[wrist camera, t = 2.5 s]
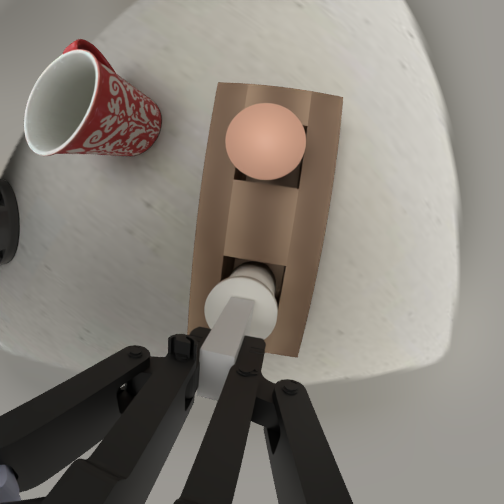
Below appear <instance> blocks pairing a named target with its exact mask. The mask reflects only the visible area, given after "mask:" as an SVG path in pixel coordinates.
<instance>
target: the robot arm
mask: <svg viewBox="0 0 504 504" xmlns="http://www.w3.org/2000/svg"><path fill="white" fill-rule="evenodd" d="M18 236H19V217H18V209H17V203H16V199H15V196H14V193H13V191H12V188H11V187H10V185H9V184H8V182H7V181H5V180H4V179H0V265H2V264H5V263H8V262H9V261H11V259H12V258H13V256H14V254H15V252H16V248H17V244H18ZM254 302H255V301H252V300H246V299H241V298H236V297H231V298H230V299H229V301H228V303H227V304H226V306H225V308H224V309H223V311H222V313H221V315H220V316H219V318H218V320H217V321H216V323H215V325H214V326H213V328H212V329H209V328H204V327H200V326H199V327H197V328H195V329H193V330H192V331H191V332H190V334H189V335H185V334H176V335H172V336H170V337H169V338H168V354H167V356H166V357H152V356H150V352H149V350H147V349H146V348H145V347H142V346H136V345H134V346H128V347H126V348H124V349H122V350H120V351H118V352H117V353H115V354H113V355H111V356H110V357H108V358H106V359H104V360H103V361H101V362H99V363H97V364H95V365H94V366H92V367H90V368H88V369H86V370H85V371H83V372H81V373H79V374H77V375H76V376H74V377H72V378H71V379H68V380H67V381H65V382H63V383H61V384H59V385H57V386H56V387H54V388H52V389H50V390H48V391H47V392H45V393H43V394H41V395H39V396H37V397H35V398H33V399H32V400H30V401H28V402H26V403H24V404H22V405H21V406H19V407H17V408H15V409H13V410H11V411H9V412H7V413H5V414H3V415H2V416H0V504H145V502H146V500H147V498H148V495H149V494H150V492H151V490H152V488H153V486H154V484H155V482H156V479H157V478H158V476H159V473H160V471H161V469H162V467H163V465H164V463H165V461H166V459H167V457H168V455H169V453H170V451H171V449H172V447H173V445H174V443H175V441H176V439H177V436H178V434H179V432H180V430H181V428H182V426H183V424H184V422H185V420H186V418H187V416H188V414H189V411H190V409H191V407H192V405H193V403H194V395H195V392H196V390H197V396H201V397H205V398H209V399H213V400H217V401H218V402H217V405H216V407H215V410H214V413H213V415H212V418H211V420H210V424H209V426H208V428H207V431H206V433H205V436H204V439H203V441H202V444H201V446H200V449H199V452H198V454H197V456H196V459H195V462H194V464H193V466H192V469H191V471H190V474H189V476H188V479H187V481H186V484H185V487H184V489H183V492H182V494H181V496H180V498H179V499H177V500H176V501H175V502H174V504H232V501H233V496H234V492H235V488H236V484H237V480H238V476H239V472H240V467H241V463H242V459H243V454H244V450H245V445H246V441H247V436H248V432H249V427H250V422H251V421H252V422H255V423H257V424H259V425H262V426H264V434H265V439H266V444H267V449H268V454H269V459H270V464H271V469H272V474H273V479H274V484H275V489H276V493H277V498H278V503H279V504H353V502H352V500H351V497H350V495H349V492H348V490H347V488H346V485H345V483H344V480H343V478H342V476H341V473H340V471H339V468H338V466H337V464H336V461H335V459H334V456H333V454H332V451H331V449H330V447H329V444H328V442H327V440H326V437H325V435H324V432H323V430H322V427H321V425H320V422H319V420H318V418H317V415H316V413H315V410H314V408H313V406H312V403H311V401H310V398H309V396H308V393H307V391H306V389H305V387H304V386H303V385H302V384H301V383H299V382H297V381H294V380H288V379H286V380H281V381H278V382H277V383H276V384H275V383H272V382H270V381H268V380H267V379H265V378H264V377H263V376H262V373H261V368H262V363H263V358H264V352H265V347H266V343H265V341H264V339H262V338H257V337H251V336H249V333H250V327H251V321H252V314H253V308H254ZM123 384H125V386H123V387H121V386H122V385H123ZM120 387H121V388H120ZM102 439H103V440H102ZM101 440H102V442H101V443H100V444H99V446H98V447H97V448H96V449H95V451H94V452H93V453H92V455H91V456H90V457H89V458H88V459H86V460H84V459H77V458H78V457H80V456H81V455H82V454H84V453H85V452H86V451H88V450H89V449H90V448H92V447H93V446H94V445H96V444H97V443H98V442H100V441H101ZM76 459H77V460H76ZM74 460H76V461H74ZM73 461H74V462H73ZM72 462H73V463H72ZM70 463H72V464H71V466H70V467H69V468H68V469H67V471H66V472H65V473H64V474H63V476H62V477H61V478H60V480H59V481H58V482H57V484H56V485H55V486H54V487H53V489H52V490H51V491H50V492H49V494H48V495H47V496H46V497H41V498H35V499H28V500H21V498H20V495H19V492H22V491H27V490H29V489H32V488H34V487H36V486H38V485H40V484H41V483H43V482H45V481H46V480H48V479H49V478H51V477H52V476H53V475H55V474H56V473H58V472H59V471H60V470H62V469H63V468H65V467H66V466H67V465H69V464H70Z"/></svg>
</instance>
